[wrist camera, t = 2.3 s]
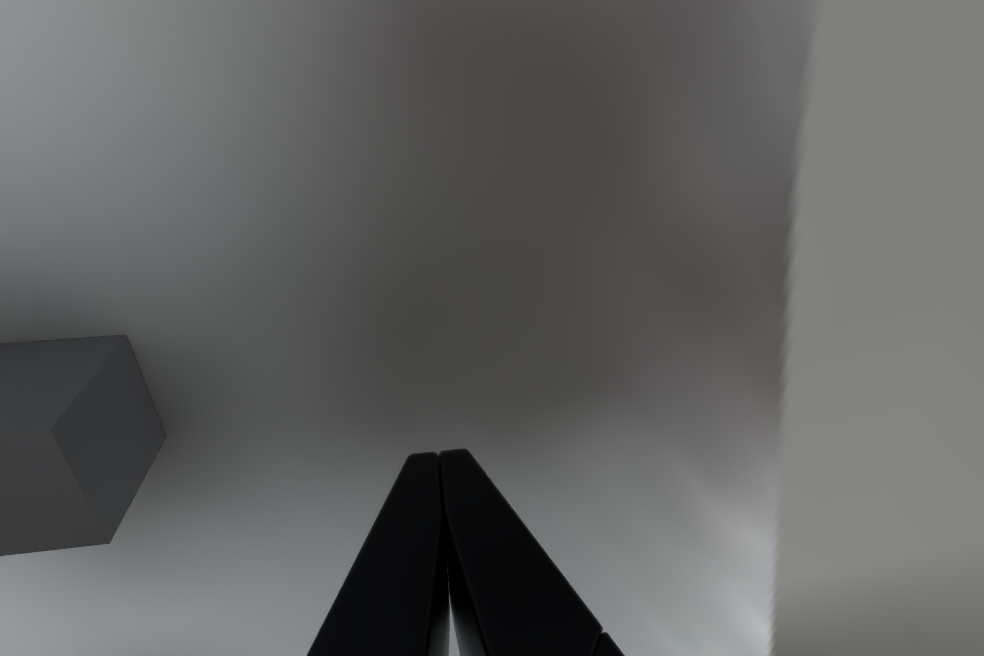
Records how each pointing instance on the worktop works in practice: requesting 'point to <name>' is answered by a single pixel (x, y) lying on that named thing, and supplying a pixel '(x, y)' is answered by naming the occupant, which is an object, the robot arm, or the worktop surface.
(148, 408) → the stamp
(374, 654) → the robot arm
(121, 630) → the worktop surface
